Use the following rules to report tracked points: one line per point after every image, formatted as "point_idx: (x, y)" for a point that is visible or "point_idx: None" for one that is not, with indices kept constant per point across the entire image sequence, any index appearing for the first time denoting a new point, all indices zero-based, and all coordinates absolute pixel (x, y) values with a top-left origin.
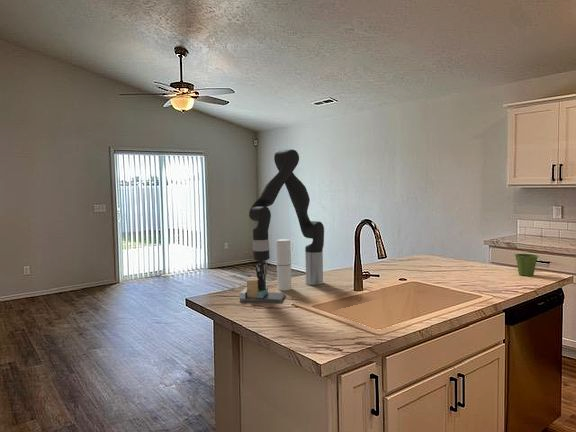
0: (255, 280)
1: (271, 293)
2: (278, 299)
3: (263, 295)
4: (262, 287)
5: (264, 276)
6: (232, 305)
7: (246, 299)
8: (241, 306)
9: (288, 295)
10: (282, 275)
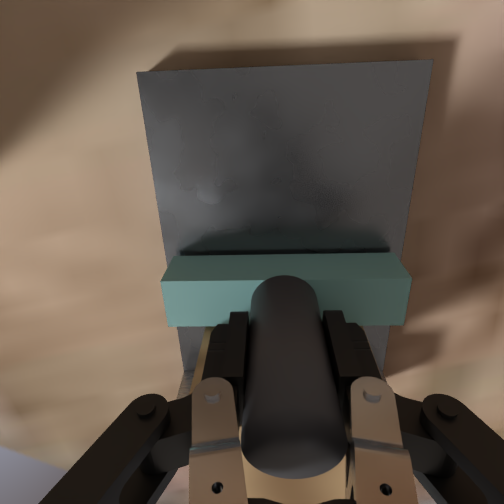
0: None
1: (195, 215)
2: (427, 87)
3: (362, 260)
4: (320, 316)
5: (322, 398)
6: (461, 400)
7: (381, 358)
8: (495, 349)
9: (116, 40)
10: None
